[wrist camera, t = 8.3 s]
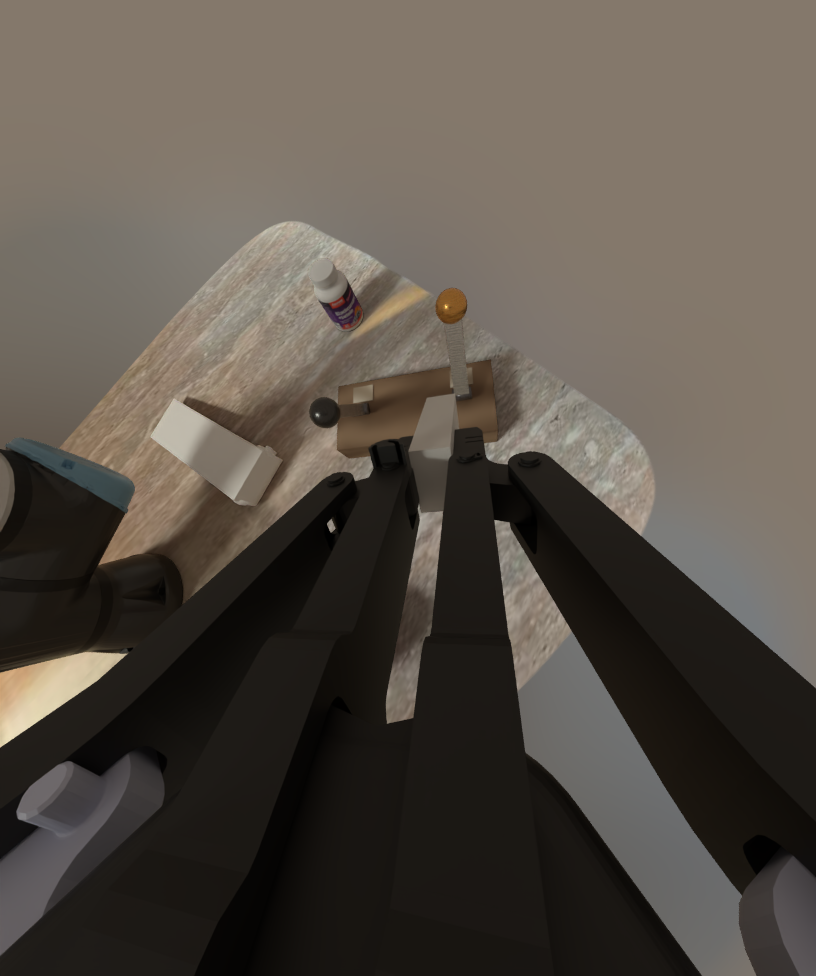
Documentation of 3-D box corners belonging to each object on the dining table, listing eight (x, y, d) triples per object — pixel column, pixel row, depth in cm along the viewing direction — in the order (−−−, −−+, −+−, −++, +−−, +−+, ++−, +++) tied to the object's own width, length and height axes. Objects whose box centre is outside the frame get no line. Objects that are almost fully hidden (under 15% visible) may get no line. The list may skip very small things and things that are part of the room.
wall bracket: (190, 450, 64) (273, 509, 51) (148, 445, 57) (230, 510, 45) (203, 404, 62) (292, 453, 50) (161, 393, 56) (250, 446, 43)
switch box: (497, 441, 42) (497, 429, 38) (349, 458, 47) (336, 449, 43) (490, 376, 44) (490, 358, 40) (350, 399, 49) (337, 385, 46)
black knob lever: (374, 419, 43) (335, 427, 31) (353, 422, 44) (307, 431, 32) (370, 396, 42) (328, 394, 30) (349, 399, 43) (300, 399, 31)
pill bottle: (349, 338, 52) (319, 291, 43) (329, 323, 54) (296, 276, 45) (370, 313, 52) (344, 261, 43) (349, 300, 54) (321, 247, 45)
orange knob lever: (475, 405, 38) (466, 291, 29) (450, 408, 39) (432, 299, 30) (474, 390, 40) (465, 279, 31) (450, 393, 41) (433, 287, 32)
